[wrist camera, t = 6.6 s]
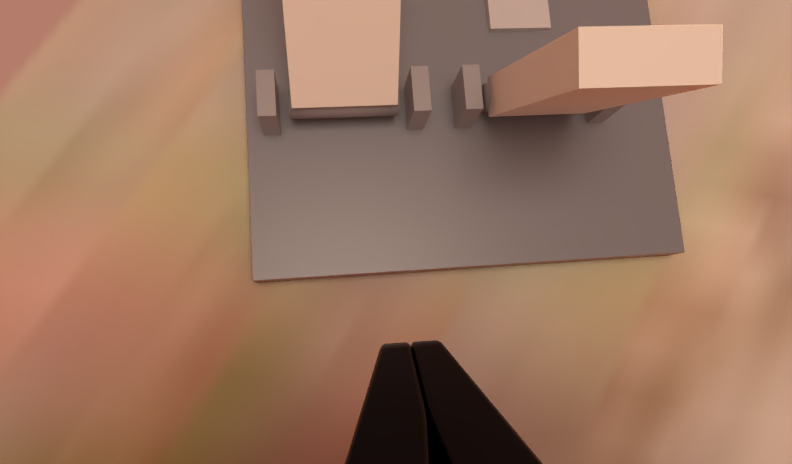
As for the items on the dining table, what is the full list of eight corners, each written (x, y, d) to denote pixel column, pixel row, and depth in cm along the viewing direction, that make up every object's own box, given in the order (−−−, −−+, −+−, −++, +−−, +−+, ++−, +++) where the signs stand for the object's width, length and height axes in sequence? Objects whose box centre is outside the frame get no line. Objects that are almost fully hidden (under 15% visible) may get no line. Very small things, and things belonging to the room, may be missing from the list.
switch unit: (669, 255, 23) (718, 245, 20) (256, 282, 22) (244, 275, 19) (629, -26, 25) (668, -72, 22) (244, -23, 23) (231, -73, 20)
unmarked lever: (578, 115, 22) (725, 84, 14) (480, 118, 22) (574, 88, 14) (578, 77, 22) (726, 24, 14) (479, 79, 22) (574, 26, 14)
